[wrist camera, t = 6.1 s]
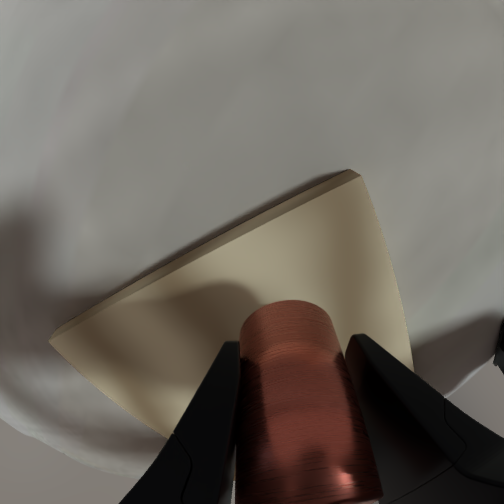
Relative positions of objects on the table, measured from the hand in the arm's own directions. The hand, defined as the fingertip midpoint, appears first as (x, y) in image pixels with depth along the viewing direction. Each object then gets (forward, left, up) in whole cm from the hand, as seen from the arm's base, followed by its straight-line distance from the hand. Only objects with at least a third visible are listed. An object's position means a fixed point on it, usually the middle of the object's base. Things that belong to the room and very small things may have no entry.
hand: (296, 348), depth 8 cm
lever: (+4, +8, -3) cm, 9 cm away
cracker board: (+6, +7, -5) cm, 10 cm away
